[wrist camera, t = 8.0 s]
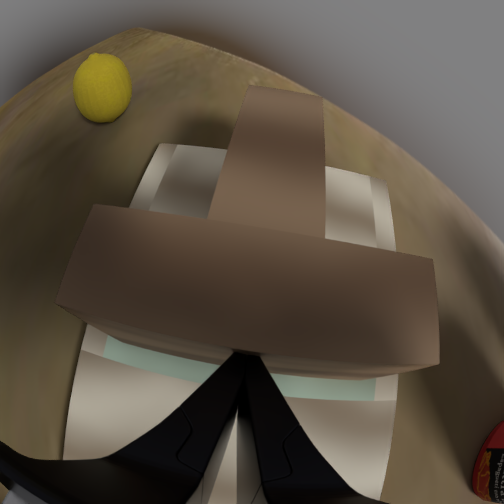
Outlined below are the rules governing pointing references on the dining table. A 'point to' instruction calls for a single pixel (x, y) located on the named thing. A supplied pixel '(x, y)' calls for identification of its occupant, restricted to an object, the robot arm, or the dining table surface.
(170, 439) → the robot arm
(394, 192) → the dining table surface
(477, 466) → the canned food
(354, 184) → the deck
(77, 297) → the t block
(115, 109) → the lemon
